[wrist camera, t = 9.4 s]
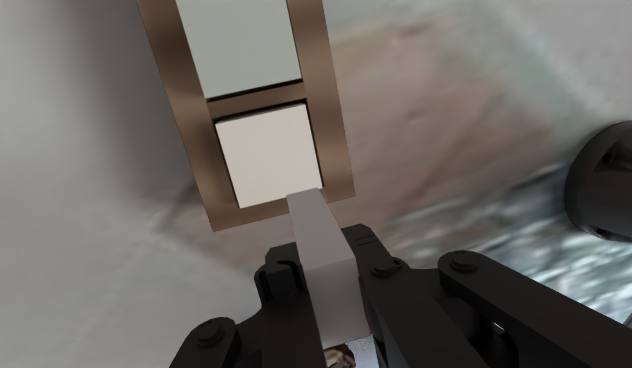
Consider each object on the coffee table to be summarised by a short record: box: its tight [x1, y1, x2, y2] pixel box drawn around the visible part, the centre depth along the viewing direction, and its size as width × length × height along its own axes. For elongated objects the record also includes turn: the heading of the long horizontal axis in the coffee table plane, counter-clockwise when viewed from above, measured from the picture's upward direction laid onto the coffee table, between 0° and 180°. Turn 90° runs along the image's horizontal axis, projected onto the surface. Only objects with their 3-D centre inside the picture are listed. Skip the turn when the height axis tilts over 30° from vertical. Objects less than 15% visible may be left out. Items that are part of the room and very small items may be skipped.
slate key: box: [176, 0, 302, 98], centre depth 25 cm, size 7×7×5 cm
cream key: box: [215, 101, 322, 208], centre depth 29 cm, size 7×7×5 cm
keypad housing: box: [136, 0, 356, 232], centre depth 29 cm, size 29×13×7 cm, turn 12°
